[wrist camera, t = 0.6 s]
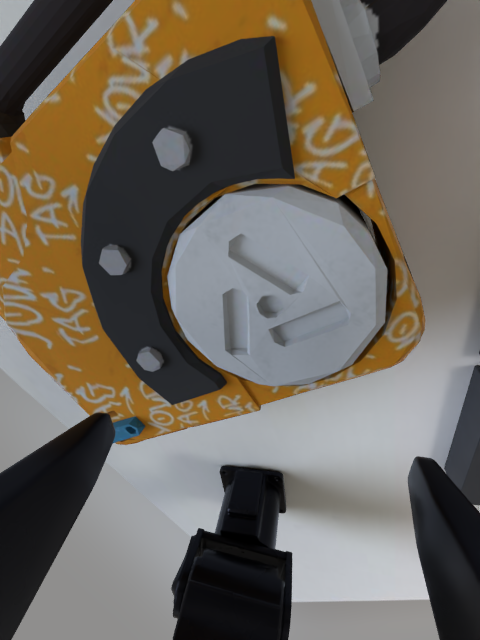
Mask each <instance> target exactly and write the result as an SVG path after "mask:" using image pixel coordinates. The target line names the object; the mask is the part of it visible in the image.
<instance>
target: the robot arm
mask: <svg viewBox="0 0 480 640" xmlns="http://www.w3.org/2000/svg"><path fill="white" fill-rule="evenodd" d="M114 438H115V428H114V425H113V422H112V419H111V417H110V415H109V414H107V413H101V412H97V413H94V414H92V415H91V416H89V417H88V418H86V419H85V420H83V421H81V422H80V423H78V424H77V425H75V426H74V427H72V428H70V429H69V430H67V431H66V432H64V433H63V434H61V435H59V436H58V437H56V438H55V439H53V440H52V441H50V442H49V443H47V444H45V445H44V446H42V447H41V448H39V449H37V450H36V451H34V452H33V453H31V454H30V455H28V456H27V457H25V458H23V459H22V460H20V461H19V462H17V463H15V464H14V465H12V466H11V467H9V468H8V469H6V470H4V471H3V472H1V473H0V640H11V639H12V637H13V635H14V634H15V632H16V630H17V628H18V626H19V625H20V623H21V621H22V619H23V617H24V615H25V613H26V612H27V610H28V608H29V606H30V604H31V602H32V600H33V599H34V597H35V595H36V593H37V591H38V589H39V587H40V586H41V584H42V582H43V580H44V578H45V576H46V574H47V573H48V571H49V569H50V567H51V565H52V563H53V562H54V559H55V558H56V556H57V554H58V552H59V550H60V549H61V547H62V545H63V543H64V541H65V539H66V537H67V536H68V534H69V532H70V530H71V528H72V526H73V524H74V523H75V521H76V519H77V517H78V515H79V513H80V511H81V509H82V507H83V506H84V504H85V502H86V500H87V499H88V497H89V495H90V493H91V491H92V489H93V487H94V485H95V483H96V481H97V479H98V476H99V474H100V472H101V469H102V467H103V465H104V462H105V460H106V458H107V455H108V453H109V450H110V448H111V446H112V443H113V441H114ZM220 475H221V479H222V483H223V488H224V492H225V495H224V499H223V503H222V507H221V511H220V515H219V519H218V523H217V527H216V531H215V533H211V532H207V531H204V529H200V528H198V531H197V534H196V535H194V536H192V537H191V540H190V543H189V546H188V550H187V553H186V555H185V558H184V560H183V562H182V564H181V567H180V568H179V571H178V573H177V575H176V577H175V579H174V581H173V584H172V592H173V595H174V609H173V617H174V618H177V619H178V621H177V625H176V628H175V632H174V636H173V640H288V637H289V629H290V618H291V600H292V552H288V551H286V552H283V551H279V550H276V549H275V546H276V536H277V526H278V517H279V513H285V512H286V500H285V489H284V478H283V474H282V473H280V472H273V471H264V470H255V469H246V468H237V467H228V466H222V467H221V469H220ZM408 487H409V495H410V502H411V509H412V516H413V524H414V531H415V538H416V544H417V549H418V554H419V558H420V562H421V566H422V570H423V574H424V578H425V582H426V586H427V590H428V594H429V598H430V602H431V606H432V610H433V614H434V618H435V622H436V626H437V631H438V635H439V639H440V640H480V513H479V511H478V510H477V509H476V508H475V507H474V506H473V504H472V503H471V502H470V501H469V500H468V499H467V497H466V496H465V495H464V494H463V493H462V492H461V490H460V489H459V488H458V487H457V486H456V485H455V483H454V482H453V481H452V480H451V479H450V478H449V477H448V475H447V474H446V473H445V472H444V471H443V470H442V468H441V467H440V466H439V465H438V464H437V463H436V461H434V460H433V459H431V458H426V457H415V459H414V461H413V464H412V466H411V469H410V472H409V475H408Z"/></svg>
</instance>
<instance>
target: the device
mask: <svg viewBox="0 0 480 640" xmlns="http://www.w3.org/2000/svg"><path fill="white" fill-rule="evenodd" d="M112 1H113V0H34V1H33V3H32V4H31V5H30V7H29V8H28V9H27V11H26V12H25V14H24V15H23V16H22V18H21V19H20V20H19V22H18V23H17V24H16V26H15V27H14V28H13V30H12V31H11V33H10V34H9V35H8V37H7V38H6V39H5V41H4V42H3V43H2V45H1V46H0V316H1V317H2V318H3V319H4V320H5V321H6V323H7V324H8V326H9V327H10V328H11V330H12V331H13V333H14V334H15V336H16V337H17V338H18V340H19V341H20V343H21V344H22V345H23V347H24V348H25V350H26V351H27V352H28V354H29V355H30V356H31V357H32V358H33V359H34V360H35V361H36V362H37V363H38V364H39V365H40V366H41V367H42V368H43V369H44V370H45V371H46V372H47V373H48V374H49V375H50V376H51V377H52V378H53V379H54V380H55V381H56V382H57V383H58V384H59V385H60V386H61V387H62V388H63V389H64V390H65V391H66V392H67V393H68V394H69V395H70V396H71V397H72V398H73V399H74V400H75V401H76V402H77V403H78V404H79V405H80V406H81V407H82V408H83V409H84V410H85V411H86V412H87V413H88V414H89V415H90V416H91V415H92V414H94V413H97V412H101V413H107V414H109V415H110V417H111V419H112V422H113V425H114V428H115V438H114V441H113V443H116V444H124V445H128V444H133V443H138V442H140V441H143V440H146V439H150V438H154V437H157V436H161V435H165V434H169V433H173V432H176V431H180V430H184V429H187V427H195V426H199V425H203V424H207V423H211V422H215V421H219V420H223V419H227V418H231V417H235V416H239V415H243V414H247V413H251V412H255V411H259V410H260V408H261V405H263V404H266V403H270V402H273V401H276V400H280V399H283V398H286V397H290V396H293V395H296V394H300V393H303V392H307V391H310V390H314V389H317V388H321V387H325V386H328V385H332V384H335V383H339V382H342V381H346V380H349V379H353V378H356V377H360V376H363V375H366V374H370V373H373V372H376V371H380V370H383V369H386V368H390V367H392V366H394V365H396V364H398V363H400V362H402V361H403V360H404V359H405V358H406V357H407V355H408V354H409V353H410V352H411V351H412V350H413V349H414V347H415V346H416V345H417V344H418V343H419V341H420V339H421V336H422V334H423V332H424V330H425V316H424V311H423V306H422V302H421V297H420V295H419V292H418V290H417V288H416V285H415V283H414V280H413V278H412V275H411V272H410V270H409V267H408V265H407V262H406V259H405V257H404V254H403V252H402V249H401V246H400V244H399V241H398V239H397V236H396V233H395V231H394V228H393V225H392V223H391V220H390V218H389V215H388V212H387V210H386V207H385V204H384V202H383V199H382V196H381V194H380V191H379V188H378V186H377V183H376V180H375V178H376V177H375V175H374V172H373V169H372V166H371V164H370V161H369V158H368V155H367V153H366V150H365V147H364V144H363V142H362V139H361V136H360V133H359V131H358V128H357V125H356V122H355V120H354V117H353V114H352V112H354V111H356V110H358V109H360V108H361V107H363V106H365V105H367V104H368V103H370V102H372V101H374V100H373V97H372V94H371V91H370V87H371V86H373V85H374V84H376V83H378V82H379V81H380V68H379V65H380V64H382V63H383V62H385V61H386V60H388V59H389V58H391V57H392V56H394V55H395V54H396V53H397V52H398V51H400V50H401V49H402V48H403V47H404V46H405V45H406V44H407V43H408V42H409V41H410V40H411V39H412V38H414V37H415V36H416V35H417V34H418V33H419V32H420V31H421V30H422V29H423V28H424V27H425V26H426V25H427V23H428V22H429V21H430V20H431V19H432V18H433V16H434V15H435V14H436V13H437V12H438V11H439V9H440V8H441V7H442V6H443V5H444V4H445V2H446V1H447V0H135V1H134V2H133V3H132V5H131V6H130V7H129V8H128V9H127V10H126V11H125V12H124V13H123V15H122V16H121V17H120V18H119V19H118V20H117V21H116V22H115V23H114V24H113V25H112V27H111V28H110V29H109V30H108V31H107V32H106V33H105V34H104V35H103V36H102V38H101V39H100V40H99V41H98V42H97V43H96V44H95V45H94V46H93V47H92V48H91V50H90V51H89V52H88V53H87V54H86V55H85V56H84V57H83V58H82V59H81V60H80V62H79V63H78V64H77V65H76V66H75V67H74V68H73V69H72V70H71V71H70V72H69V74H68V75H67V76H66V77H65V78H64V79H63V80H62V81H61V82H60V83H59V84H58V86H57V87H56V88H55V89H54V90H53V91H52V92H51V93H50V94H49V95H48V96H47V97H46V99H45V100H44V101H43V102H42V103H41V104H40V105H39V106H38V107H37V108H36V109H35V111H34V112H33V113H32V114H31V115H30V116H29V117H28V119H27V120H26V121H25V117H24V113H23V111H22V109H23V107H24V104H25V101H26V100H27V99H28V98H29V97H30V96H31V95H32V93H33V92H34V91H35V90H36V89H37V88H38V86H39V85H40V84H41V83H42V82H43V81H44V79H45V78H46V77H47V76H48V75H49V74H50V73H51V71H52V70H53V69H54V68H55V67H56V66H57V64H58V63H59V62H60V61H61V60H62V59H63V58H64V56H65V55H66V54H67V53H68V52H69V51H70V49H71V48H72V47H73V46H74V45H75V44H76V42H77V41H78V40H79V39H80V38H81V37H82V36H83V34H84V33H85V32H86V31H87V30H88V29H89V27H90V26H91V25H92V24H93V23H94V22H95V21H96V19H97V18H98V17H99V16H100V15H101V14H102V12H103V11H104V10H105V9H106V8H107V7H108V6H109V4H110V3H111V2H112ZM357 206H358V207H359V208H360V209H361V210H362V211H363V212H364V213H365V214H366V215H368V216H369V217H370V218H371V222H372V226H373V230H374V234H375V238H376V242H374V240H373V238H372V236H371V234H370V232H369V230H368V228H367V226H366V223H365V221H364V219H363V217H362V215H361V213H360V211H359V209H358V207H357Z"/></svg>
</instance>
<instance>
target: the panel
mask: <svg viewBox="0 0 480 640" xmlns="http://www.w3.org/2000/svg"><path fill="white" fill-rule="evenodd" d="M444 469H445V471H446V474H447V475H448V477H449V478H450V479H451V480H452V481H453V482H454V483H455V485H456V486H457V487H458V488H459V489H460V490H461V492H462V493H463V494H464V495H465V496H466V497H467V499H468V500H469V501H470V502H471V503H472V504H473V505H480V366H475V368H474V371H473V375H472V378H471V381H470V385H469V388H468V391H467V395H466V398H465V401H464V405H463V408H462V411H461V415H460V418H459V421H458V425H457V428H456V431H455V435H454V438H453V441H452V445H451V448H450V451H449V455H448V458H447V461H446V465H445V468H444Z"/></svg>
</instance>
